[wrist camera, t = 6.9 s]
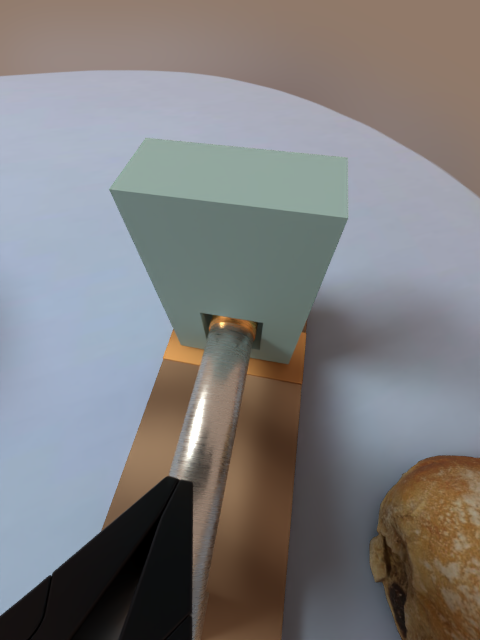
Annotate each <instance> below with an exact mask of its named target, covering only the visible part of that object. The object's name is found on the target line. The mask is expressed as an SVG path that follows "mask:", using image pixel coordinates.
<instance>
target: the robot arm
mask: <svg viewBox="0 0 480 640" xmlns="http://www.w3.org/2000/svg"><path fill="white" fill-rule="evenodd" d="M192 601H193V482H192V481H189V480H185V479H181V480H180V479H179V478H176V477H172V476H166V477H165V478H163V479H162V480H161V481H160V482H159V483H158V484H156V485H155V486H154V487H153V488H152V489H151V490H149V491H148V492H147V493H146V494H145V495H143V496H142V497H141V498H140V499H139V500H138V501H136V502H135V503H134V504H133V505H132V506H131V507H129V508H128V509H127V510H126V511H125V512H123V513H122V514H121V515H120V516H119V517H118V518H116V519H115V520H114V521H113V522H112V523H111V524H109V525H108V526H107V527H106V528H105V529H103V530H102V531H101V532H100V533H99V534H98V535H96V536H95V537H94V538H93V539H92V540H91V541H89V542H88V543H87V544H86V545H85V546H83V547H82V548H81V549H80V550H79V551H78V552H76V553H75V554H74V555H73V556H72V557H71V558H69V559H68V560H67V561H66V562H65V563H63V564H62V565H61V566H60V567H59V568H58V569H56V570H55V571H54V572H53V574H52V576H51V575H49V576H48V577H47V578H46V579H44V580H43V581H42V582H41V583H40V584H39V585H37V586H36V587H35V588H34V589H33V590H31V591H30V592H29V593H28V594H27V595H25V596H24V597H23V598H22V599H20V600H19V601H18V602H17V603H16V604H14V605H13V606H12V607H11V608H9V609H8V610H7V611H6V612H5V613H3V614H2V615H1V616H0V640H192V626H193V618H192Z"/></svg>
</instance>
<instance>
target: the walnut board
mask: <svg viewBox="0 0 480 640" xmlns="http://www.w3.org/2000/svg"><path fill="white" fill-rule="evenodd" d="M306 326H307V320H306V323H305V325H304V327H303V330H302V332H301V335H300V337H299V340H298V342H297V345H296V347H295V350H294V352H293V354H292V357H291V359H290V362H289V364H283V363H278V362H272V361H267V360H261V359H255V358H250V360H249V365H248V371H247V376H246V381H245V386H244V392H243V397H242V402H241V408H240V413H239V418H238V423H237V429H236V434H235V439H234V445H233V450H232V455H231V460H230V466H229V471H228V476H227V482H226V487H225V492H224V497H223V503H222V508H221V513H220V519H219V524H218V529H217V534H216V540H215V545H214V550H213V556H212V561H211V566H210V571H209V577H208V582H207V587H206V592H209V597H208V602H207V608H206V613H205V619H204V624H203V629H202V635H201V640H281V635H282V623H283V611H284V598H285V586H286V574H287V561H288V549H289V536H290V524H291V512H292V499H293V487H294V475H295V462H296V450H297V438H298V425H299V413H300V401H301V388H302V381H303V369H304V356H305V344H306ZM203 352H204V349H199V348H194V347H188V346H183V345H181V344H180V342H179V340H178V337H177V335H176V333H175V331H174V329H173V332H172V334H171V337H170V340H169V343H168V345H167V348H166V351H165V354H164V356H163V362H162V365H161V367H160V370H159V373H158V376H157V378H156V381H155V384H154V387H153V389H152V392H151V395H150V398H149V401H148V403H147V406H146V409H145V412H144V414H143V417H142V420H141V423H140V425H139V428H138V431H137V434H136V436H135V439H134V442H133V445H132V448H131V450H130V453H129V456H128V459H127V461H126V464H125V467H124V470H123V472H122V475H121V478H120V481H119V484H118V486H117V489H116V492H115V495H114V497H113V500H112V503H111V506H110V508H109V511H108V514H107V517H106V519H105V522H104V525H103V528H102V530H103V529H105V528H106V527H107V526H108V525H109V524H111V523H112V522H113V521H114V520H115V519H116V518H118V517H119V516H120V515H121V514H122V513H123V512H125V511H126V510H127V509H128V508H129V507H131V506H132V505H133V504H134V503H135V502H136V501H138V500H139V499H140V498H141V497H142V496H143V495H145V494H146V493H147V492H148V491H149V490H151V489H152V488H153V487H154V486H155V485H156V484H158V483H159V482H160V481H161V480H162V479H163V478H165V477H166V476H168V475H169V471H170V468H171V464H172V461H173V457H174V454H175V450H176V447H177V443H178V440H179V436H180V433H181V429H182V426H183V422H184V419H185V415H186V412H187V408H188V405H189V401H190V398H191V394H192V391H193V387H194V384H195V380H196V377H197V373H198V370H199V366H200V363H201V359H202V356H203Z"/></svg>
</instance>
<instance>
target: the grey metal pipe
mask: <svg viewBox="0 0 480 640" xmlns="http://www.w3.org/2000/svg"><path fill="white" fill-rule="evenodd" d="M257 326H258V322H254V321H248V320H242V319H236V318H230V317H224V316H218V315H212V319H211V322H210V326H209V335H208V338H207V342H206V345H205V349H204V352H203V356H202V359H201V363H200V366H199V370H198V373H197V377H196V380H195V384H194V387H193V391H192V394H191V398H190V401H189V405H188V408H187V412H186V415H185V419H184V422H183V426H182V429H181V433H180V436H179V440H178V443H177V447H176V450H175V454H174V457H173V461H172V464H171V468H170V471H169V475H168V476H172V477H176V478H179V479H180V480H181V479H185V480H189V481H192V482H193V601H192V618H193V626H192V640H201V635H202V629H203V624H204V619H205V613H206V608H207V602H208V597H209V592H206V587H207V582H208V577H209V571H210V566H211V561H212V556H213V550H214V545H215V540H216V534H217V529H218V524H219V519H220V513H221V508H222V503H223V497H224V492H225V487H226V482H227V476H228V471H229V466H230V460H231V455H232V450H233V445H234V439H235V434H236V429H237V423H238V418H239V413H240V408H241V402H242V397H243V392H244V386H245V381H246V376H247V371H248V365H249V360H250V355H251V349H252V344H253V341H254V340H255V336H256V331H257Z"/></svg>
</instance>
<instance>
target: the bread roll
mask: <svg viewBox="0 0 480 640" xmlns="http://www.w3.org/2000/svg"><path fill="white" fill-rule="evenodd" d="M377 532H378V533H379V534H378V536H376V537H374V538H372V540H371V541H370V567H371V570H372V573H373V576H374V579H375V582H382V583H383V585H384V589H385V594H386V598H387V601H388V604H389V606H390V609H391V612H392V615H393V618H394V620H395V623H396V626H397V629H398V632H399V634H400V636H401V638H402V640H480V458H473V457H466V456H450V455H449V456H435V457H430V458H426V459H424V460H421V461H419V462H418V463H417V464H416V465H414V466H413V467H411V468H410V469H409V470H408V471H407V472H406V473H404V474H402V477H401V479H400V480H399V481H398V482H397V484H396V485H394V486H393V487H392V488H391V489H390V491H389V492H388V493H387V494H386V496H385V498H384V499H383V501H382V503H381V504H380V511H379V520H378V526H377Z"/></svg>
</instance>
